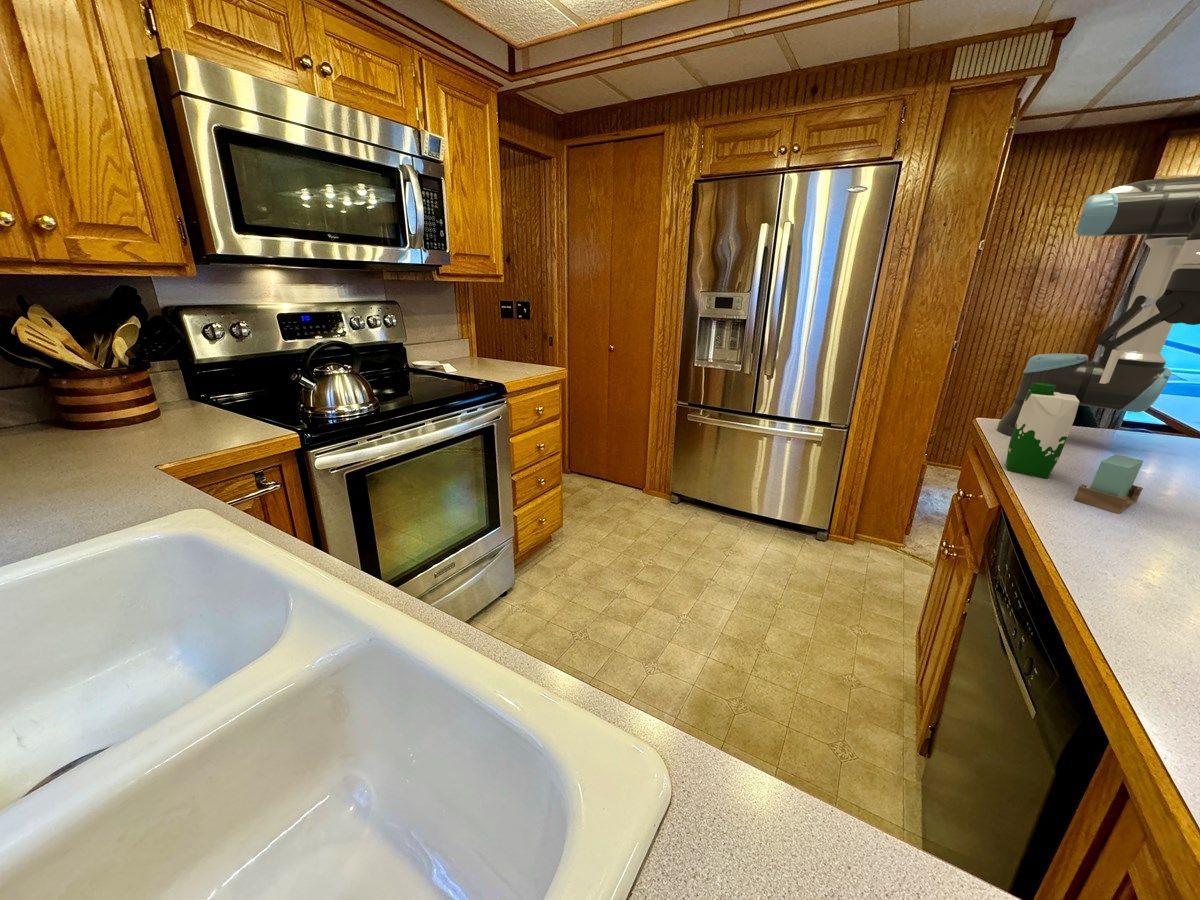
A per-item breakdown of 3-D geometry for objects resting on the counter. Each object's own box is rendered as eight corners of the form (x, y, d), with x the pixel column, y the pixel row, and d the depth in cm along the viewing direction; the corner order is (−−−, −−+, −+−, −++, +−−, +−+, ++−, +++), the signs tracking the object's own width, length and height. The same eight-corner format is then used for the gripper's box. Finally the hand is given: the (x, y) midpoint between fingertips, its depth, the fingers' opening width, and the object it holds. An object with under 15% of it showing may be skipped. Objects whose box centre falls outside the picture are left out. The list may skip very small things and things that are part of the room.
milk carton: (1001, 460, 117) (1029, 379, 110) (1050, 469, 112) (1082, 385, 105) (1002, 470, 111) (1031, 385, 104) (1054, 481, 106) (1089, 392, 99)
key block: (1100, 489, 100) (1115, 454, 98) (1127, 497, 97) (1143, 460, 94) (1085, 498, 96) (1101, 461, 93) (1112, 506, 93) (1129, 468, 90)
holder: (1093, 488, 102) (1098, 476, 101) (1136, 501, 97) (1143, 487, 96) (1073, 500, 96) (1079, 486, 95) (1118, 513, 91) (1125, 499, 90)
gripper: (1101, 266, 90) (1059, 378, 97) (1332, 267, 70) (1258, 408, 77) (1113, 267, 93) (1073, 375, 101) (1337, 269, 73) (1266, 403, 81)
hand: (1153, 390), depth 89 cm, fingers open, 13 cm apart
